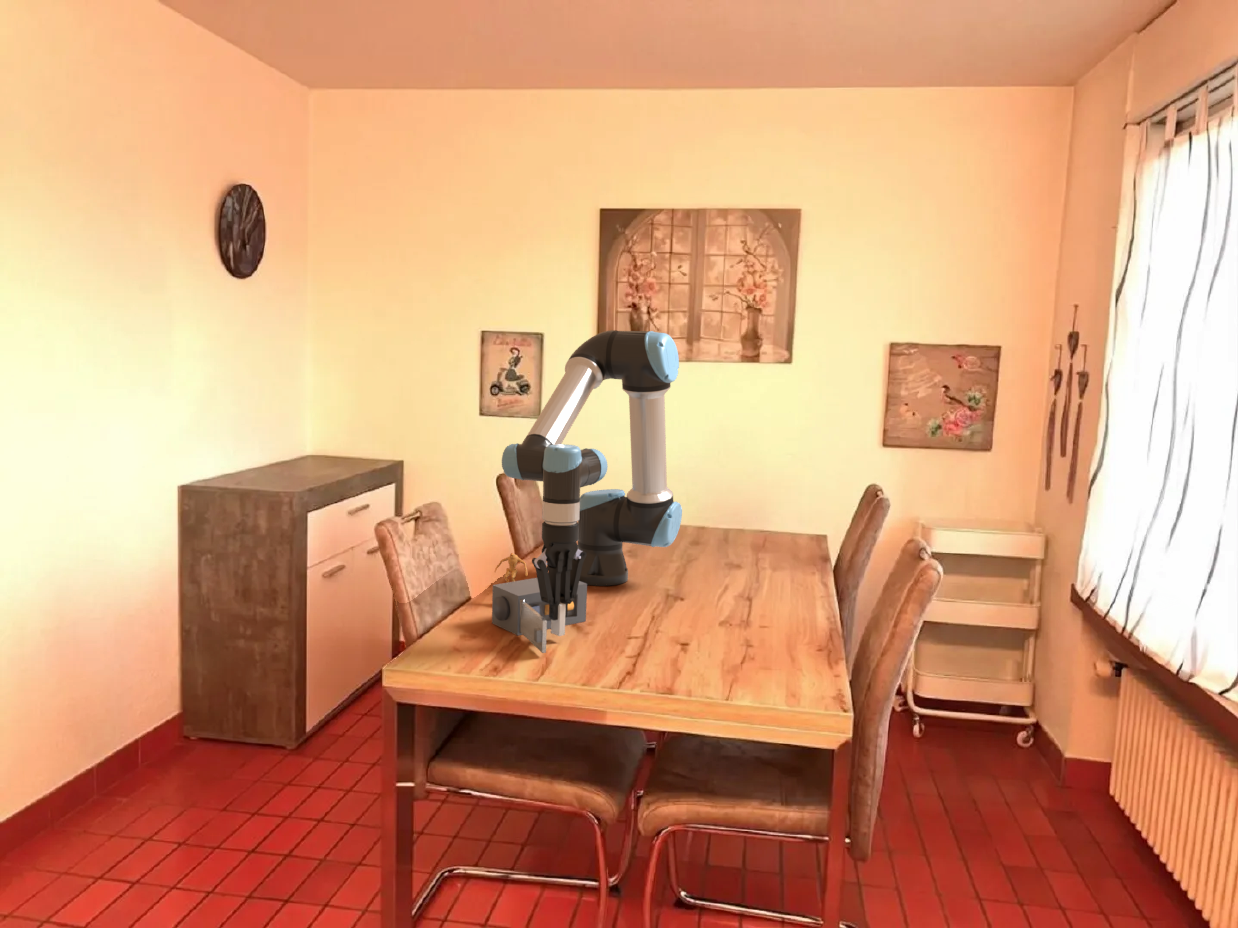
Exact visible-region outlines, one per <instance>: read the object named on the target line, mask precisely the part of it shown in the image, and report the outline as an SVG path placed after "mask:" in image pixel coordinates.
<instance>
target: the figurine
mask: <svg viewBox="0 0 1238 928" xmlns="http://www.w3.org/2000/svg"><path fill="white" fill-rule="evenodd" d="M503 562H504V563H505V562H507V563H508V566H509V567H507V568H506V571H505V574H504V577H503V578H504V580H505V583H508V582H510V579H508V577H509V576H511V582H514V581H516V580H515V578H516V576H517V573H518V568H516V567H517V565H518V562H519V563H520V564H523V566H524V570H525V572H524V575H525V576H524V577H528V568H527V563H526V562H525V561H524V559H523V560H522V559H521V558H520V557H519V555H518V554H515V553H513V552H511V553H510V555H509V556H507V557H505V558H503V559H501V560H500V561H499V563H498V564H497V565H496V567H495V570H494V572H496V571H497V569H499V567H500V566H501V564H503Z"/></svg>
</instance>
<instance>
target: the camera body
mask: <svg viewBox="0 0 1238 928" xmlns="http://www.w3.org/2000/svg"><path fill="white" fill-rule="evenodd" d="M587 596H588V585H587V584H586V583H584V582H581V581H579V584H578V589H577V594H576V597H575V598H574V599H573V598H572V599H570V600H571V601H572V602H571V604H568V614H567V617H566V618H565V626H568V625H569V626H570V625H574V624H579V623H584V622H587V621H586V620H587V599H588V597H587ZM491 597H492V599H491V601H492V602H491V603H492V604H491V605H492V606H491V609H492V610H491V611H492V612H491V624H493V625H495V626H498V627H499V628H501V629H503V630H505V631H507V632H509V633H511V632H512V633H511V634H513V635H516V636H522V635H523V634H520V633H519V622H520V599H525V602H526V603H527V604H528V605H529V606H531V607H532V608H533V609H534V610H535V611H536V612H538V613H539V614H540V615H541V616H542V617H544V618H545V619H546V620H547V630H551V619H550V618H549V603H546V602H543V601H542V600H541V596H540V590H539V585H538V579H537V577H532V578H526V579H521V580H515V581H514V582H512V581H509V582H508V583H507V582H503V583H498V584H493V585H492V596H491Z"/></svg>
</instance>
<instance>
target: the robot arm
mask: <svg viewBox="0 0 1238 928" xmlns="http://www.w3.org/2000/svg"><path fill="white" fill-rule="evenodd" d="M679 358H680V357H679V351H678V347H677V345H676V342H675V341H674V340H673V338H672V337H671V335H670V334H668V333H666V332H657V331H653V330H650V331H649V330H615V329H614V330H613V329H612V330H606V331H601V332H599V333H597V334H595V335H594V336H593V335H592V337H590V338H589V339H587V340H586V341H584V342H583V343H582V344H581V345H579V346H578V347H577V348H576V349H575V350H574V351H573V353H572V354H571V355H570V356H569V358H568V360H567V361H566V362H565V365H564V366H565V367H564V375H563V376H562V378H561V379H560V381H559V382H558V385H556V388H555V389H554V391H553V393H552V394H551V396H550V397H549V398H548V401H547V402H546V404H544V405H545V406H544V407H543V409H542V410H541V412H540V414H539V415H538V417H537V418H536V420H535V422H534V423H533V425H532V427H531V428H530V430H529V432H528V433H527V435H526V436H525V438H524V440H523V441H522V442H521V443H510V444H509V445H507V446H506V447H505V449H504V450H503V452H502V455H501V456H502V457H501V467H502V470H503V473H504V475H505V476H506V477H508V478H512V479H517V480H522V481H533V482H542V517H541V518H542V520H543V522H542V524H541V540H542V543H543V545H542V548H541V553H540V555H539V556H538V557H532V559H531V563H532V565H533V566H534V568H535V571H536V572H535V573H536V578H537V579H538V585H539V590H540V596H541V600H542V601H543V602H546V603H549V618H550V619H551V629H550V634H552V635H556V636H557V637H562V636H565V635H566V625H565V618H566V617H567V614H568V604H571V602H572V601H571V600H570V599H572V598H573V599H574V598H575V597H576V594H577V589H578V584H579V581H581V582H584V583H586V584H587V586H600V587H601V586H605V587H606V586H607V587H609V586H616V585H622V584H624V583H626V582H627V581H628V580H629V570H628V566H627V563H626V558H625V554H624V551H623V543H624V544H625V543H626V544H627V543H628V544H632V545H638V546H639V545H641V546H647V547H648V546H649V547H652V548H655V547H659V548H668V547H669V546H671V545H672V544H673V543H674V542H675V539H676V538H677V536H678V533H679V530H680V528H681V523H682V516H683V508H682V505H681V503H680V502H678V501H674V492H673V490H671V489H670V488H669V487H668V483H667V477H668V476H667V444H666V438H667V437H666V410H665V409H666V402H665V399H666V398H665V397H666V396H665V395H666V393H667V392H668V391H670V389H671V383H673V382H675V380H676V379H677V377H678V374H679V370H678V369H679V368H680V367H679V366H680V360H679ZM610 379H611V380H621V385H622V388H621V389H622V390H623V391H624V392H625V393H626V394H627V395H628V399H629V400H628V404H629V405H628V406H629V407H628V408H629V431H630V432H629V433H630V455H631V456H630V459H631V462H630V463H631V482H632V485H631V486H632V487H631V489H630V490H629V491H628V492H627V493H625V491H624V490H623V489H618V488H614V489H613V488H611V489H597V490H590V491H587V492H584V493H582V494H581V489H582V488H584V487H587V486H592V485H595V484H597V483H598V482H599V481H600V482H601V480H603V479H604V477H605V476H606V475H607V473H608V472H607V471H608V460H607V459H606V456H605V455H604V454H603V452H602V451H600V450H598V449H597V448H583V449H581V448H580V447H579V446H578V445H574V444H565V443H563V442H564V440H565V438H566V436H567V434H568V433H569V431H570V429H571V427H572V426H573V424H574V422H575V421H576V419H577V418H578V416H579V414H580V412H581V410H582V409H583V408H584V405H585V404H586V402H587V401H588V399H589V397H590V396H591V393H592V392H593V390H595V389H597V388H598V387H600V386H601V384H602V383H603V381H605V380H610ZM562 443H563V444H562Z"/></svg>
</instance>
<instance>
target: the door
mask: <svg viewBox="0 0 1238 928" xmlns="http://www.w3.org/2000/svg"><path fill="white" fill-rule="evenodd" d="M547 630H548V629H547V620H546V619H545V618H544V617H542V616H541V615H540V614H539V613H538V612H536V611H535V610H534V609H533V608H532V607H531V606H529V605H528V604H527V603H526V602H525V599H520V622H519V633H520V634H522V635H523V637H525V638H526V639H527V640H528V641H529V642H530V643H531V644H532V645H533V646H534V647H535V648H536V649H537V650H538V651H540V653H541V654H546V653H547V635H548V634H547V632H548V631H547Z"/></svg>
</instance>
